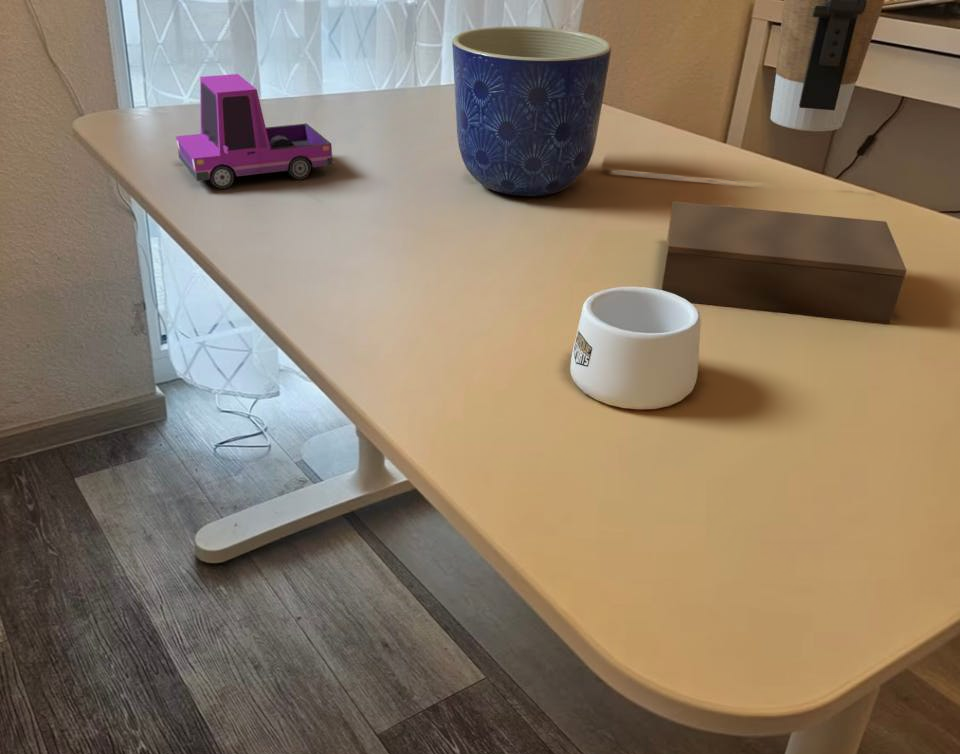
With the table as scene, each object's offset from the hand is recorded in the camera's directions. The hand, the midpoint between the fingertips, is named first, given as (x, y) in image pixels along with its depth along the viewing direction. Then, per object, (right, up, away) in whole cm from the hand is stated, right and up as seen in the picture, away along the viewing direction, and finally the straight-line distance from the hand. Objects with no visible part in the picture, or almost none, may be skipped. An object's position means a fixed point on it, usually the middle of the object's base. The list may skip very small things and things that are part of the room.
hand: (812, 95), depth 79 cm
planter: (-23, +3, +31) cm, 39 cm away
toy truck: (-54, +4, +32) cm, 63 cm away
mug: (-16, -24, -5) cm, 30 cm away
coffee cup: (0, -2, +1) cm, 2 cm away
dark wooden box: (0, -13, +10) cm, 17 cm away
